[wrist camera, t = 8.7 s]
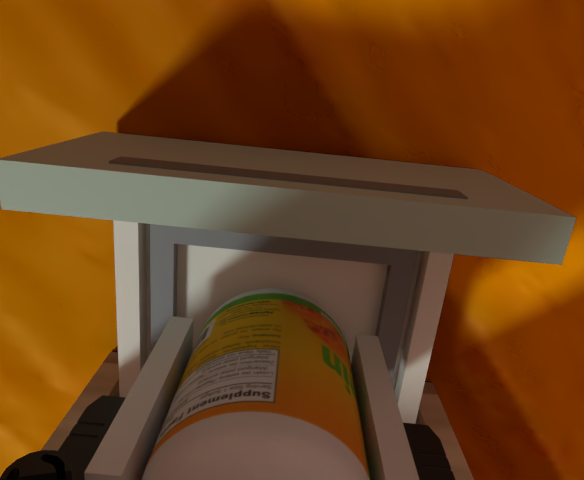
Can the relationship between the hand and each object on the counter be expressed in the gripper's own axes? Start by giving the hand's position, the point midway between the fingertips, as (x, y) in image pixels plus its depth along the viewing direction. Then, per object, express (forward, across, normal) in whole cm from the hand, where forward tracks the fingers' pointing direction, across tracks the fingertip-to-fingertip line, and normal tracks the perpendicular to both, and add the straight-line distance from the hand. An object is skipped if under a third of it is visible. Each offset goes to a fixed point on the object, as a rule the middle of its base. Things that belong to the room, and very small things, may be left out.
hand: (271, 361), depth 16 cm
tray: (+3, 0, 0) cm, 3 cm away
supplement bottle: (+1, 0, 0) cm, 1 cm away
